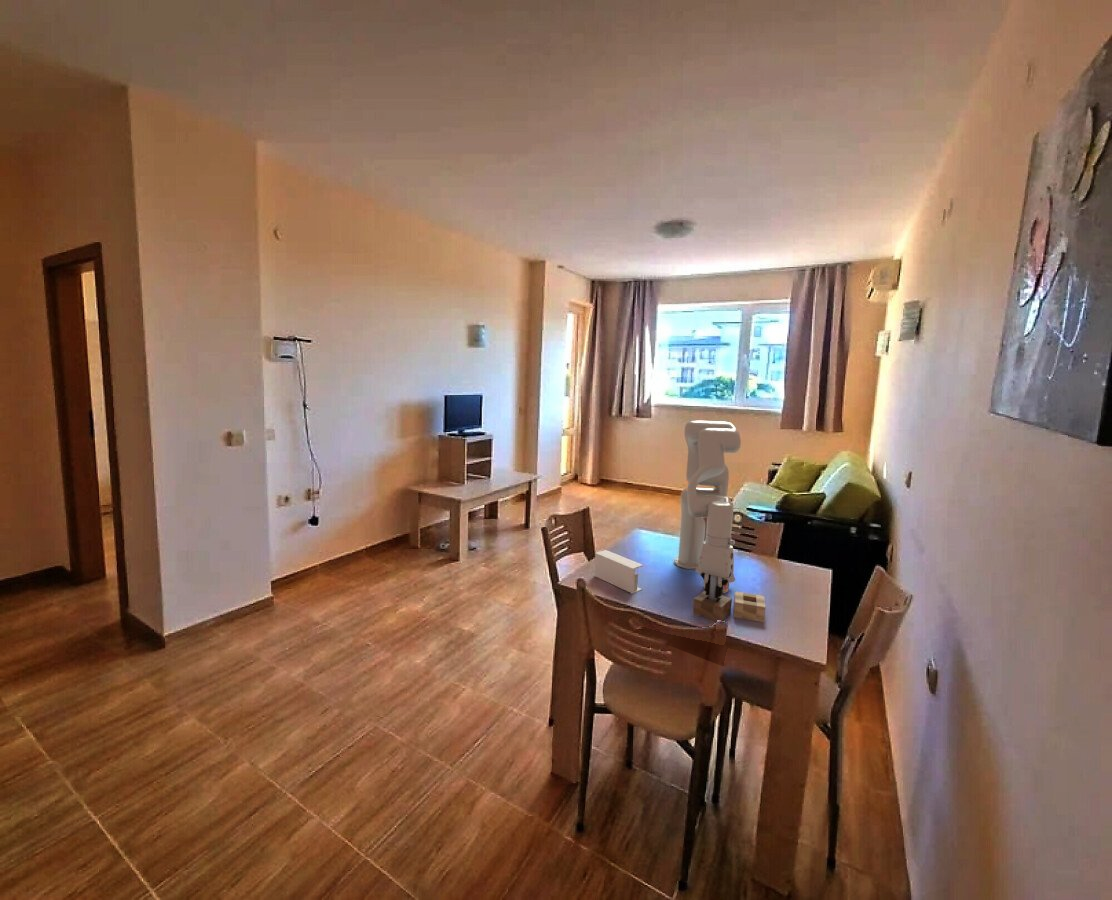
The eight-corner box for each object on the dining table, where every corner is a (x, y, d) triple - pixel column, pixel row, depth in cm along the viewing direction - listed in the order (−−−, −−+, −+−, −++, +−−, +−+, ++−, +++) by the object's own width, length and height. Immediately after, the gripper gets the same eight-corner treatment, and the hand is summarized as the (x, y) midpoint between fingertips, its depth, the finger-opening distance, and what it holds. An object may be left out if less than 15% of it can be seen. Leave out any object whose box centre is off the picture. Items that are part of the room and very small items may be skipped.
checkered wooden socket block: (733, 605, 172) (735, 591, 171) (762, 610, 169) (764, 595, 168) (733, 617, 163) (735, 602, 162) (764, 622, 160) (765, 607, 160)
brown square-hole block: (704, 604, 172) (705, 590, 171) (730, 612, 166) (732, 598, 165) (692, 613, 165) (693, 598, 164) (720, 622, 159) (721, 607, 158)
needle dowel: (710, 601, 167) (713, 566, 165) (717, 604, 165) (720, 568, 163) (706, 604, 165) (709, 568, 163) (714, 607, 163) (717, 571, 161)
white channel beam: (642, 590, 181) (643, 565, 180) (631, 594, 178) (633, 568, 176) (602, 572, 196) (603, 549, 195) (591, 575, 193) (592, 551, 192)
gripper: (747, 543, 160) (742, 599, 162) (698, 532, 170) (694, 585, 172) (739, 549, 154) (733, 607, 157) (688, 537, 164) (684, 591, 167)
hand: (713, 595), depth 164 cm, fingers closed on needle dowel, 2 cm apart
